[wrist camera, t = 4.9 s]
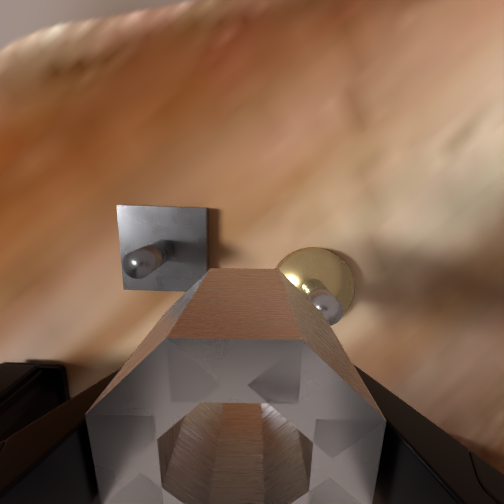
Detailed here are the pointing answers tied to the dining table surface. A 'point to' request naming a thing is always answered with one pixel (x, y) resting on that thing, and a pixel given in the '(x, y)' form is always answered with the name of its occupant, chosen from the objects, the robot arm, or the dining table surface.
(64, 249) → the dining table surface
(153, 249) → the stand
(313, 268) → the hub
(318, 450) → the collar
